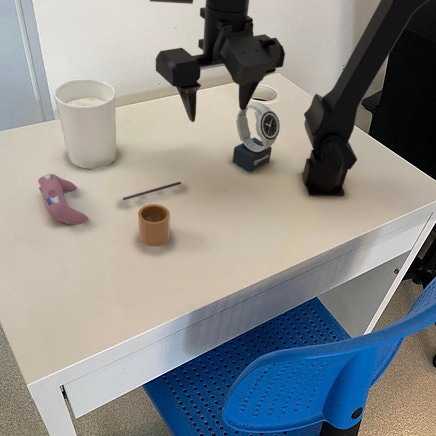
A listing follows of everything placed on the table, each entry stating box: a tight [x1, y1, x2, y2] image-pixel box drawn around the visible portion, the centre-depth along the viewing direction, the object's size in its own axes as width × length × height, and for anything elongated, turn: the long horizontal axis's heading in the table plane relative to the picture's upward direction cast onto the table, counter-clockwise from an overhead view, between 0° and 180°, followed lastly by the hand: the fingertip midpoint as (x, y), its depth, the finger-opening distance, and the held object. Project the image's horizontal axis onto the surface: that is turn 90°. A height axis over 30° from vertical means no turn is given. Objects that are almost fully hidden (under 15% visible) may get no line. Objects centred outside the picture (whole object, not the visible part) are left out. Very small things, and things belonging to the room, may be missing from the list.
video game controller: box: [37, 173, 90, 226], centre depth 76 cm, size 10×5×7 cm, turn 23°
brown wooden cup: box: [137, 203, 171, 248], centre depth 73 cm, size 4×4×6 cm
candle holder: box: [53, 78, 117, 170], centre depth 85 cm, size 10×10×12 cm
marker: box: [122, 181, 182, 201], centre depth 82 cm, size 6×1×10 cm
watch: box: [232, 101, 281, 173], centre depth 88 cm, size 6×8×11 cm
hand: (217, 114), depth 77 cm, fingers open, 9 cm apart
